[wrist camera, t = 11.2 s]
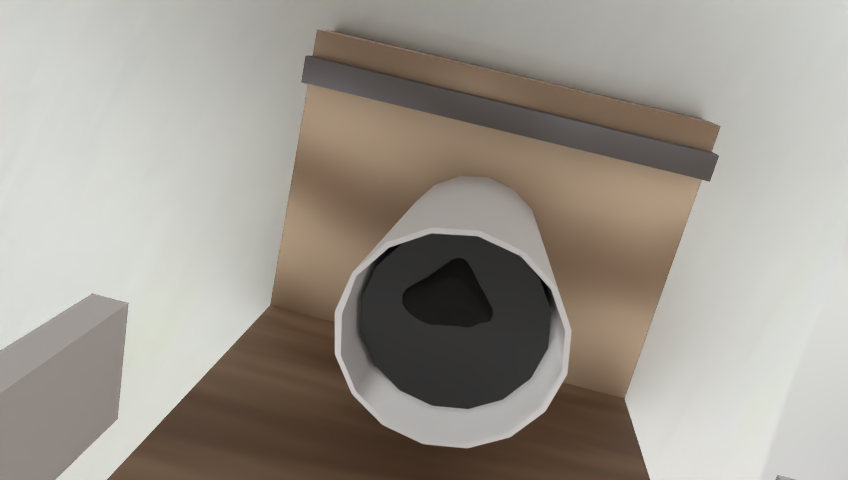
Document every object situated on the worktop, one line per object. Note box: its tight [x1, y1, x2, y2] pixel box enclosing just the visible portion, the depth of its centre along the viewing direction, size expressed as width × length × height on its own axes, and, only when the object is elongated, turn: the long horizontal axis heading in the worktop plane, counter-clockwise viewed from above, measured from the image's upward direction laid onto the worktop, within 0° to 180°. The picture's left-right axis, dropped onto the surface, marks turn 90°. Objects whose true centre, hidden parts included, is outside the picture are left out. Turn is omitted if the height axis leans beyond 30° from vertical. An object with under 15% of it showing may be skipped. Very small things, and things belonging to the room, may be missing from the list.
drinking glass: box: [335, 176, 572, 448], centre depth 24 cm, size 7×7×10 cm
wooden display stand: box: [107, 30, 720, 480], centre depth 20 cm, size 14×16×24 cm
